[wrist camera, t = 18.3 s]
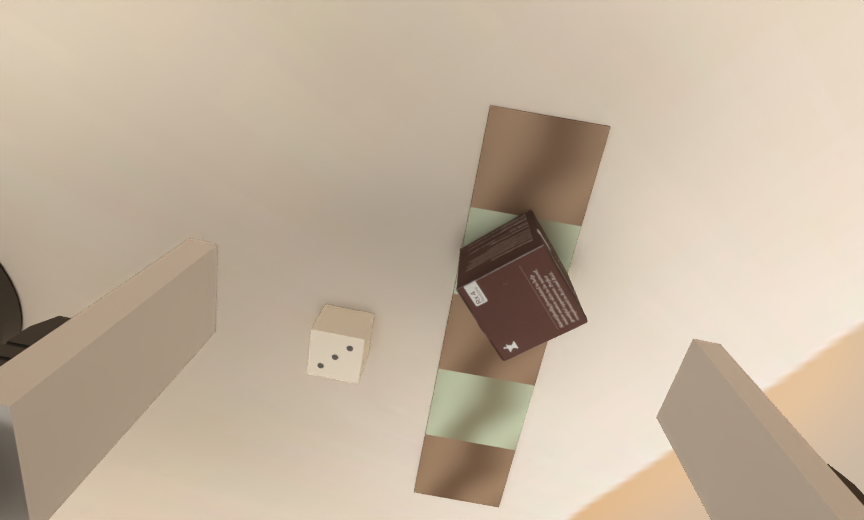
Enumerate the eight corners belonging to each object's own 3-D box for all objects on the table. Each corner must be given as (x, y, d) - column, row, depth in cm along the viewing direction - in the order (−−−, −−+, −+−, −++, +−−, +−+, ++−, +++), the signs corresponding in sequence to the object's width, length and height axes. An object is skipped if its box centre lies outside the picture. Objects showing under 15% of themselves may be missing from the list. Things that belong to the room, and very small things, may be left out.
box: (569, 274, 37) (591, 324, 30) (497, 310, 38) (503, 365, 32) (530, 206, 35) (544, 243, 28) (457, 246, 37) (454, 290, 30)
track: (414, 489, 47) (414, 492, 46) (490, 105, 33) (490, 106, 33) (498, 504, 47) (498, 507, 46) (609, 126, 33) (610, 126, 33)
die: (321, 345, 41) (306, 374, 38) (325, 303, 40) (310, 329, 36) (368, 354, 41) (358, 385, 38) (374, 313, 40) (364, 340, 36)
